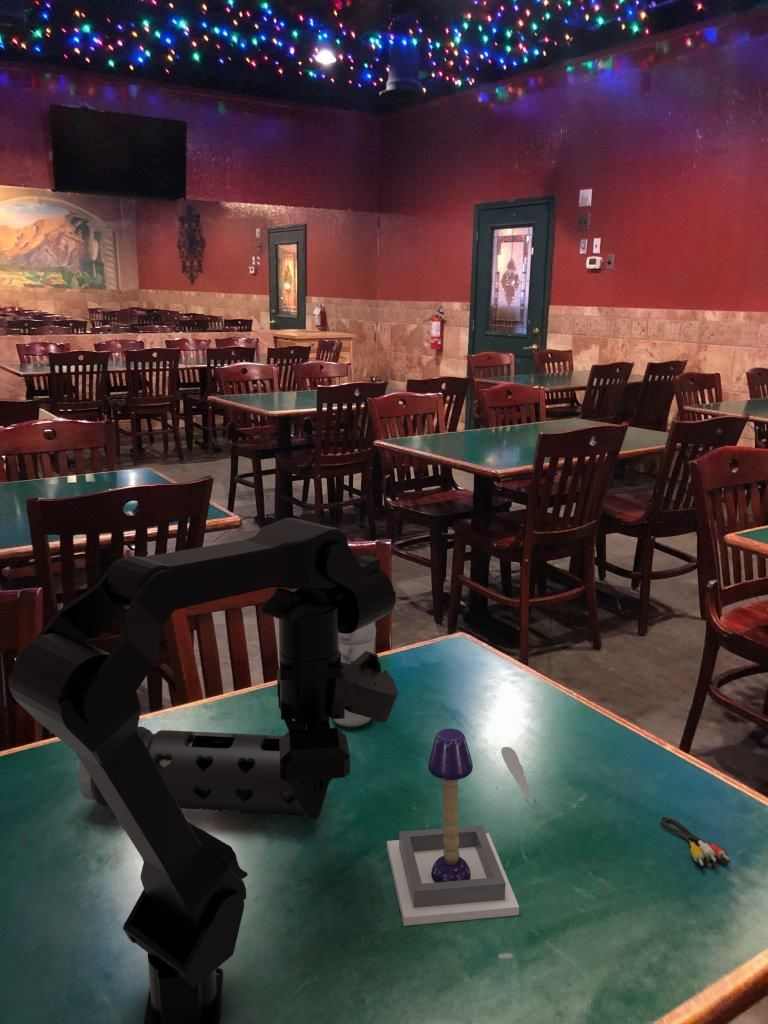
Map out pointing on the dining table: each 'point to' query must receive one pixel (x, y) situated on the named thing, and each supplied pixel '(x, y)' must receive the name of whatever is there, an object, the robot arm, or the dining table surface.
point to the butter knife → (516, 769)
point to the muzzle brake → (215, 772)
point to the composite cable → (697, 844)
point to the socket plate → (453, 898)
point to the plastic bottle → (350, 651)
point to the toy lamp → (450, 800)
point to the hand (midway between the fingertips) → (310, 790)
